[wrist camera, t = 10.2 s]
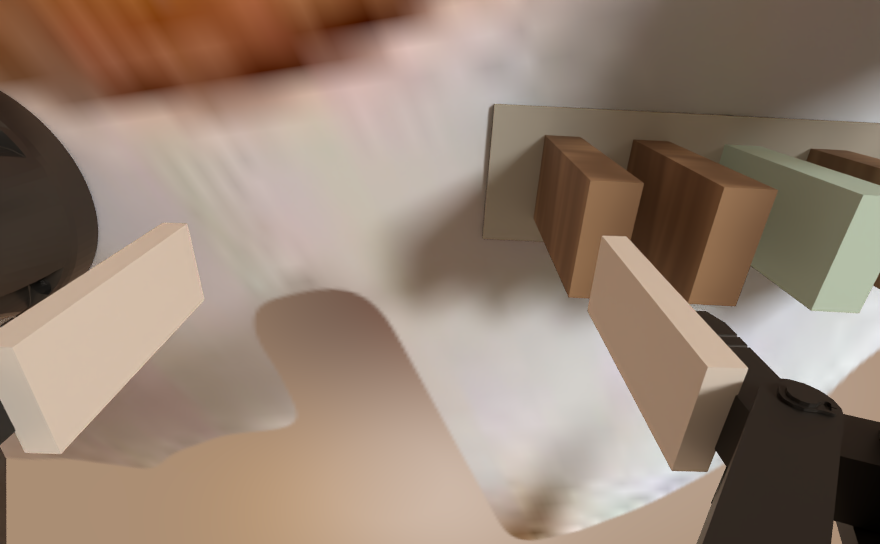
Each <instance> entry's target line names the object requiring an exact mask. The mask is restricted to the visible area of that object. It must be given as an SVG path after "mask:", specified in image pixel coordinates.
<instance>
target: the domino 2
mask: <svg viewBox="0 0 880 544" xmlns="http://www.w3.org/2000/svg"><path fill="white" fill-rule="evenodd" d="M627 171H628V172H629V173H631V174H632V175H633V176H635V177H636V178H638V179H639V180H640V181H642V182H643V183H644V186H643V190H642V194H641V198H640V202H639V207H638V211H637V215H636V219H635V223H634V228H633V232H632V236H631V241H632V242H633V243H634V244H635V246H636V247H637V248H638V249H639V250H640V251H641V252H642V253H643V254H644V256H645V257H646V258H647V259H648V260H649V261H650V262H651V263H652V264H653V266H654V267H655V268H656V269H657V270H658V271H659V272H660V273H661V274H662V276H663V277H664V278H665V279H666V280H667V281H668V282H669V283H670V284H671V285H672V286H673V287H674V289H675V290H676V291H677V292H678V293H679V294H680V295H681V296H682V297H683V298H684V299H685V300H686V301H687V303H688V304H703V305H722V306H736V304H737V301H738V298H739V295H740V293H741V290H742V287H743V285H744V282H745V279H746V276H747V274H748V271H749V268H750V266H751V263H752V260H753V257H754V255H755V252H756V249H757V247H758V244H759V241H760V238H761V236H762V233H763V230H764V228H765V225H766V222H767V219H768V217H769V214H770V211H771V209H772V206H773V203H774V200H775V198H776V195H777V192H778V190H777V189H775V188H772V187H770V186H768V185H766V184H763V183H761V182H759V181H757V180H754V179H752V178H750V177H748V176H745V175H743V174H741V173H739V172H736V171H734V170H732V169H730V168H728V167H725V166H723V165H721V164H719V163H716V162H714V161H712V160H710V159H707V158H705V157H703V156H701V155H698V154H696V153H694V152H692V151H689V150H687V149H685V148H683V147H680V146H678V145H676V144H674V143H672V142H669V141H654V140H634V139H633V143H632V148H631V152H630V157H629V162H628V166H627Z"/></svg>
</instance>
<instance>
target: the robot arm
mask: <svg viewBox="0 0 880 544" xmlns="http://www.w3.org/2000/svg"><path fill="white" fill-rule="evenodd" d="M97 241H98V224H97V216H96V211H95V207H94V203H93V200H92V197H91V194H90V191H89V189H88V186H87V184H86V182H85V180H84V178H83V176H82V174H81V172H80V170H79V168H78V167H77V165H76V163H75V162H74V160H73V159H72V157H71V156H70V154H69V153H68V152H67V150H66V149H65V148H64V146H63V145H62V144H61V143H60V141H59V140H58V139H57V138H56V137H55V136H54V134H53V133H52V132H51V131H50V130H49V129H48V128H47V127H46V126H45V125H44V124H43V123H42V122H41V121H40V120H39V119H38V118H37V117H35V116H34V115H33V114H32V113H31V112H30V111H28V110H27V109H26V108H25V107H23V106H22V105H21V104H19V103H18V102H17V101H15V100H14V99H12V98H11V97H9V96H8V95H6V94H5V93H3V92H1V91H0V319H2V318H6V317H10V316H14V315H16V318H11V319H10V320H8V321H7V322H5V323H3V324H2V325H1V327H0V445H1V444H2V443H3V442H4V441H5V440H6V439H7V438H8V437H9V436H10V435H12V434H13V433H14V432H15V434H16V436H17V438H18V440H19V442H20V444H21V446H22V448H23V450H24V452H25V453H42V454H61V453H62V452H63V451H64V450H65V449H66V448H67V447H68V446H69V445H70V444H71V443H72V442H73V441H74V440H75V438H76V437H77V436H78V435H79V434H80V433H81V432H82V431H83V430H84V429H85V428H86V427H87V426H88V424H89V423H90V422H91V421H92V420H93V419H94V418H95V417H96V416H97V415H98V414H99V413H100V412H101V410H102V409H103V408H104V407H105V406H106V405H107V404H108V403H109V402H110V401H111V400H112V399H113V398H114V396H115V395H116V394H117V393H118V392H119V391H120V390H121V389H122V388H123V387H124V386H125V385H126V384H127V383H128V381H129V380H130V379H131V378H132V377H133V376H134V375H135V374H136V373H137V372H138V371H139V370H140V369H141V367H142V366H143V365H144V364H145V363H146V362H147V361H148V360H149V359H150V358H151V357H152V356H153V355H154V353H155V352H156V351H157V350H158V349H159V348H160V347H161V346H162V345H163V344H164V343H165V342H166V341H167V339H168V338H169V337H170V336H171V335H172V334H173V333H174V332H175V331H176V330H177V329H178V328H179V327H180V326H181V324H182V323H183V322H184V321H185V320H186V319H187V318H188V317H189V316H190V315H191V314H192V313H193V312H194V310H195V309H196V308H197V307H198V306H199V305H200V304H201V303H202V302H203V301H204V296H203V291H202V287H201V282H200V278H199V273H198V269H197V264H196V260H195V256H194V251H193V247H192V242H191V238H190V233H189V229H188V224H186V223H162V224H160V225H159V226H157V227H156V228H154V229H153V230H151V231H149V232H148V233H146V234H145V235H143V236H142V237H140V238H139V239H137V240H136V241H134V242H132V243H131V244H129V245H128V246H126V247H125V248H123V249H122V250H120V251H118V252H117V253H115V254H114V255H112V256H111V257H109V258H108V259H106V260H104V261H103V262H101V263H100V264H98V265H97V266H95V267H94V268H92V269H91V270H89V271H88V269H89V268H90V266H91V264H92V261H93V259H94V256H95V252H96V248H97ZM587 311H588V313H589V315H590V317H591V319H592V320H593V322H594V324H595V326H596V328H597V330H598V332H599V334H600V336H601V338H602V339H603V341H604V343H605V345H606V347H607V349H608V351H609V353H610V355H611V357H612V358H613V360H614V362H615V364H616V366H617V368H618V370H619V372H620V374H621V375H622V377H623V379H624V381H625V383H626V385H627V387H628V389H629V391H630V393H631V394H632V396H633V398H634V400H635V402H636V404H637V406H638V408H639V410H640V412H641V413H642V415H643V417H644V419H645V421H646V423H647V425H648V427H649V429H650V430H651V432H652V434H653V436H654V438H655V440H656V442H657V444H658V446H659V448H660V449H661V451H662V453H663V455H664V457H665V459H666V461H667V463H668V465H669V467H670V468H671V470H672V471H696V472H708V469H709V467H710V464H711V461H712V459H713V456H714V454H715V451H717V453H718V455H719V456H720V458H721V459H722V461H723V462H724V464H725V465H726V469H725V471H724V474H723V476H722V478H721V481H720V483H719V486H718V488H717V490H716V493H715V495H714V498H713V500H712V502H711V504H712V505H711V507H710V510H709V512H708V515H707V518H706V521H705V523H704V526H703V528H702V531H701V534H700V536H699V539H698V542H697V544H831V538H832V529H833V520H834V521H836V523H837V527H838V530H839V534H840V537H841V541H842V544H880V422H876V421H872V420H867V419H863V418H858V417H854V416H849V415H845V414H843V412H842V409H841V408H840V407H839V406H838V405H837V403H836V402H835V401H834V400H833V399H831V398H830V397H828V396H827V395H826V394H824V393H823V392H821V391H819V390H817V389H815V388H813V387H811V386H809V385H806V384H804V383H800V382H797V381H793V380H790V379H780V378H779V377H778V376H777V375H776V374H775V373H774V372H773V371H772V370H771V369H770V368H769V367H768V366H767V365H766V363H765V362H764V361H763V360H762V359H761V358H760V357H759V356H758V355H757V354H756V353H755V352H754V351H753V350H752V349H751V348H747V344H746V343H745V342H744V341H743V340H742V339H741V338H740V337H737V334H736V333H735V332H734V331H733V330H732V329H731V328H730V327H729V326H728V325H727V324H726V323H725V322H723V321H721V320H720V319H718V318H716V317H715V316H713V315H711V314H710V313H708V312H706V311H695V310H694V309H693V308H692V307H691V306H690V305H689V304H688V303H687V301H686V300H685V299H684V298H683V297H682V296H681V295H680V294H679V293H678V292H677V291H676V290H675V289H674V287H673V286H672V285H671V284H670V283H669V282H668V281H667V280H666V279H665V278H664V277H663V276H662V274H661V273H660V272H659V271H658V270H657V269H656V268H655V267H654V266H653V265H652V264H651V263H650V262H649V260H648V259H647V258H646V257H645V256H644V255H643V254H642V253H641V252H640V251H639V250H638V249H637V248H636V246H635V245H634V244H633V243H632V242H631V241H630V240H629V239H628V238H627V237H626V236H602V238H601V243H600V248H599V253H598V259H597V264H596V269H595V274H594V279H593V284H592V289H591V295H590V300H589V305H588V310H587ZM0 544H6V458H5V456H4V454H3V452H2V450H1V448H0Z"/></svg>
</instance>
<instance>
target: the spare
mask: <svg viewBox="0 0 880 544" xmlns="http://www.w3.org/2000/svg"><path fill="white" fill-rule="evenodd" d="M719 164H721V165H723V166H725V167H728V168H730V169H732V170H734V171H736V172H739V173H741V174H743V175H745V176H748V177H750V178H752V179H754V180H757V181H759V182H761V183H763V184H766V185H768V186H770V187H772V188H775V189H777V190H778V192H777V195H776V198H775V200H774V203H773V206H772V209H771V211H770V214H769V217H768V219H767V222H766V225H765V228H764V230H763V233H762V236H761V238H760V241H759V244H758V247H757V249H756V252H755V255H754V257H753V260H752V263H751V266H752V267H753V268H755V269H756V270H757V271H759V272H760V273H761V274H763V275H764V276H765V277H767V278H768V279H769V280H771V281H772V282H773V283H775V284H776V285H777V286H779V287H780V288H781V289H783V290H784V291H785V292H787V293H788V294H789V295H791V296H792V297H793V298H795V299H796V300H797V301H799V302H800V303H802V304H803V305H804V306H806V307H807V308H808V309H810V310H811V311H827V312H845V313H859V312H860V310H861V308H862V306H863V305H864V303H865V301H866V299H867V297H868V295H869V293H870V291H871V289H872V287H873V285H874V283H875V281H876V279H877V277H878V275H879V273H880V185H877V184H874V183H871V182H868V181H865V180H862V179H859V178H856V177H853V176H850V175H846V174H843V173H840V172H837V171H834V170H831V169H828V168H825V167H822V166H819V165H816V164H813V163H810V162H807V161H804V160H801V159H798V158H795V157H792V156H789V155H786V154H783V153H779V152H776V151H773V150H770V149H767V148H764V147H761V146H746V145H727V144H725V146H724V149H723V152H722V155H721V159H720V162H719Z"/></svg>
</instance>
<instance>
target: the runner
mask: <svg viewBox="0 0 880 544" xmlns="http://www.w3.org/2000/svg"><path fill="white" fill-rule="evenodd" d="M545 135H555V136H575V137H581V138H583V139H584V140H585V141H587V142H588V143H590V144H591V145H592V146H594V147H595V148H596V149H598V150H599V151H601V152H602V153H603V154H605V155H606V156H607V157H609V158H610V159H611V160H613V161H614V162H616V163H617V164H618V165H620V166H621V167H622V168H624V169H625V170H627V166H628V162H629V157H630V152H631V148H632V143H633V139H634V140H654V141H669V142H672V143H674V144H676V145H678V146H680V147H683V148H685V149H687V150H689V151H692V152H694V153H696V154H698V155H701V156H703V157H705V158H707V159H710V160H712V161H714V162H716V163H719V162H720V159H721V155H722V152H723V149H724V146H725V144H727V145H746V146H761V147H764V148H767V149H770V150H773V151H776V152H779V153H783V154H786V155H789V156H792V157H795V158H798V159H801V160H804V161H806V160H807V157H808V155H809V152H810V149H811V148H812V149H831V150H847V151H851V152H855V153H859V154H862V155H866V156H870V157H874V158H877V159H880V123H866V122H846V121H827V120H807V119H787V118H767V117H747V116H727V115H707V114H687V113H667V112H647V111H627V110H607V109H587V108H567V107H547V106H527V105H507V104H494V113H493V124H492V135H491V146H490V157H489V168H488V180H487V191H486V202H485V213H484V224H483V235H482V238H483V239H497V240H516V241H535V242H544V241H543V239H542V237H541V234H540V232H539V230H538V228H537V225H536V223H535V221H534V219H533V218H534V211H535V204H536V197H537V189H538V182H539V175H540V168H541V160H542V153H543V146H544V139H545ZM630 241H631V240H630ZM631 242H632V241H631ZM632 243H633V242H632ZM633 244H634V243H633ZM634 245H635V244H634Z"/></svg>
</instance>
